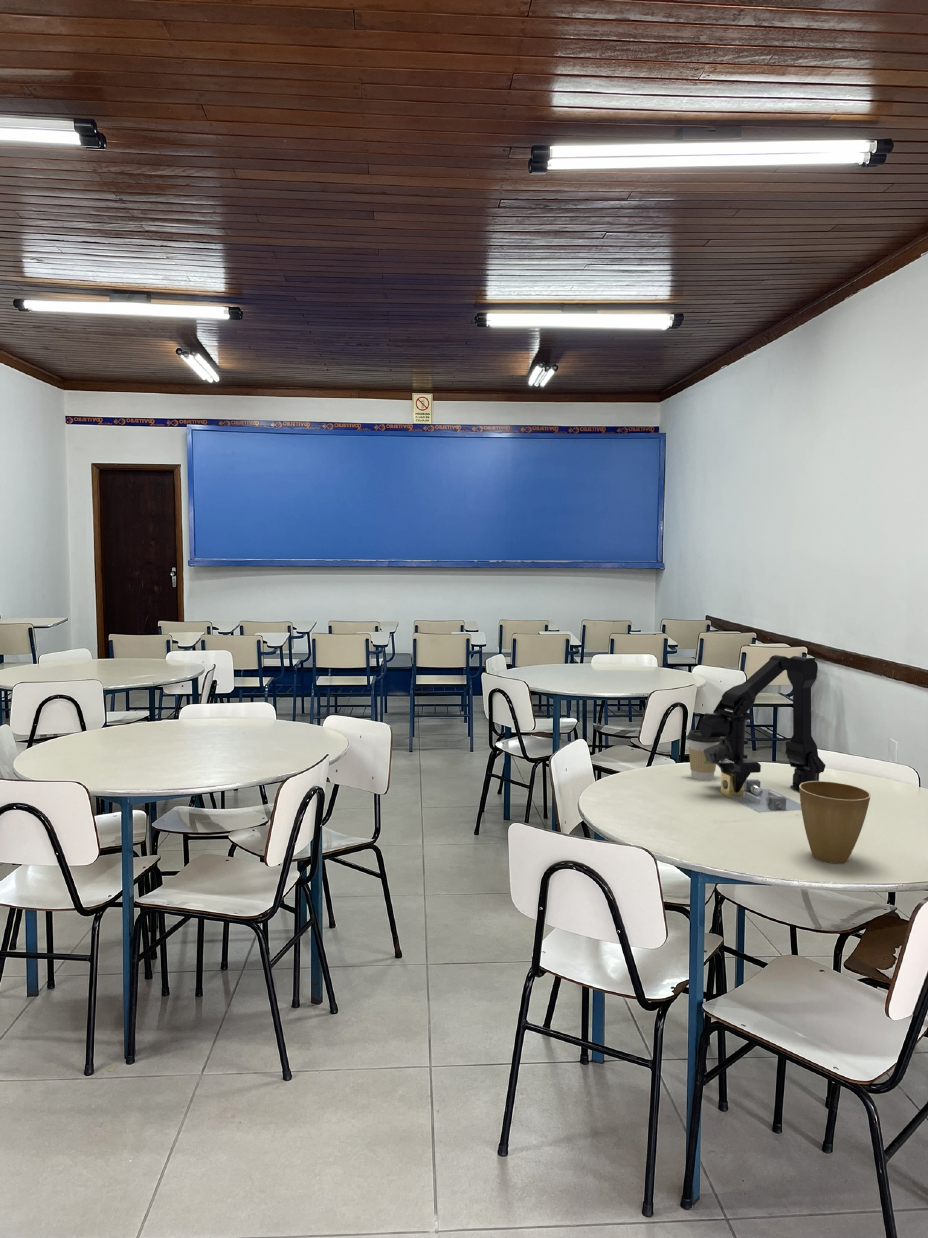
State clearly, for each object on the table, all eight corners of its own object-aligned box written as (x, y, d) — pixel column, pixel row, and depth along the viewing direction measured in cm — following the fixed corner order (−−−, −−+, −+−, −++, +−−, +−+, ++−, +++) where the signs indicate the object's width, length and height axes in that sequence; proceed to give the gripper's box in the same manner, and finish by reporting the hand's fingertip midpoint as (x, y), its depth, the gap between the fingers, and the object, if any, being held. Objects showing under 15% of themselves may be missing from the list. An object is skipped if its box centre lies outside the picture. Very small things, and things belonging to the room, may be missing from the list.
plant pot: (794, 863, 189) (797, 793, 188) (797, 843, 203) (800, 778, 202) (868, 874, 183) (872, 802, 182) (865, 853, 197) (869, 785, 196)
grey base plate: (768, 793, 247) (769, 783, 246) (811, 813, 227) (812, 803, 227) (719, 795, 243) (719, 786, 243) (758, 816, 224) (758, 806, 223)
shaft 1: (765, 796, 239) (765, 784, 239) (751, 796, 239) (751, 784, 239) (757, 790, 245) (757, 779, 244) (743, 790, 244) (744, 779, 244)
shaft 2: (762, 804, 231) (763, 792, 231) (777, 804, 231) (777, 792, 231) (771, 810, 225) (771, 798, 225) (785, 810, 226) (786, 798, 225)
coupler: (735, 792, 243) (736, 771, 242) (743, 796, 238) (744, 775, 238) (720, 792, 242) (721, 772, 241) (728, 797, 237) (729, 776, 237)
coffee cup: (723, 786, 253) (725, 736, 252) (690, 785, 253) (692, 736, 252) (714, 777, 263) (716, 730, 262) (682, 776, 263) (684, 729, 262)
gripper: (692, 729, 246) (690, 782, 247) (726, 744, 228) (723, 800, 229) (726, 728, 248) (724, 780, 250) (763, 742, 230) (760, 798, 231)
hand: (732, 790), depth 240 cm, fingers closed on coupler, 4 cm apart
